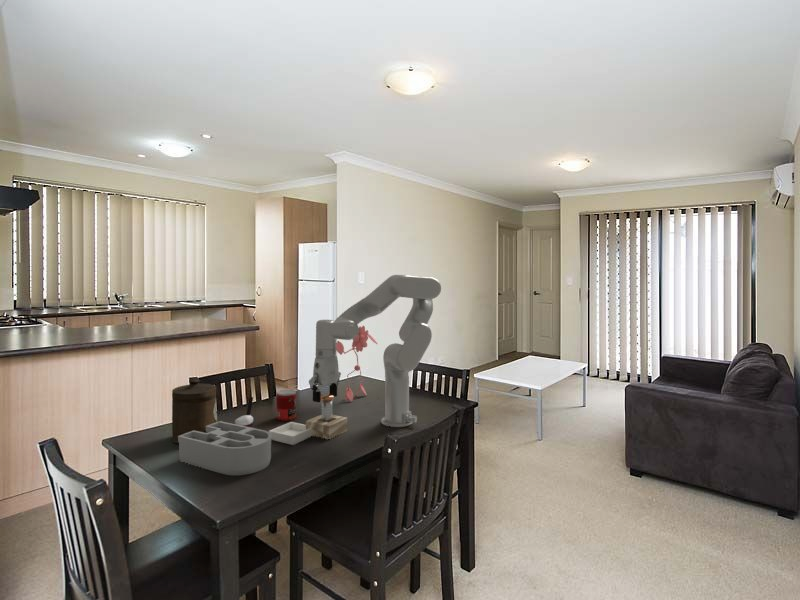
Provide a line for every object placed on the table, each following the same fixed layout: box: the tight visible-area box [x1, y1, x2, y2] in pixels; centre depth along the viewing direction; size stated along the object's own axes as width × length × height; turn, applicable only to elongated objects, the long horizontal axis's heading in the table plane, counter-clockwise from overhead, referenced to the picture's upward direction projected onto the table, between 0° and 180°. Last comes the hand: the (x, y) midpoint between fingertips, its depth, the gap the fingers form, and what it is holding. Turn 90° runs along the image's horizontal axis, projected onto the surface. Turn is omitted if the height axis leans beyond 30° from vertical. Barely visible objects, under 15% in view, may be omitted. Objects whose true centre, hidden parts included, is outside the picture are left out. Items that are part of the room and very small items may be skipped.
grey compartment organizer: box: [178, 420, 272, 476], centre depth 146 cm, size 17×28×9 cm, turn 63°
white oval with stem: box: [234, 396, 254, 428], centre depth 172 cm, size 10×6×12 cm, turn 141°
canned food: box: [276, 389, 297, 422], centre depth 188 cm, size 8×8×11 cm
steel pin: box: [320, 393, 335, 423], centre depth 171 cm, size 5×5×14 cm
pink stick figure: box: [336, 325, 378, 403], centre depth 215 cm, size 15×26×35 cm, turn 146°
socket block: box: [305, 414, 349, 440], centre depth 172 cm, size 11×11×5 cm
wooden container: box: [171, 377, 218, 444], centre depth 166 cm, size 15×15×22 cm
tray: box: [268, 421, 314, 446], centre depth 167 cm, size 12×12×3 cm
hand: (325, 398), depth 171 cm, fingers open, 9 cm apart
